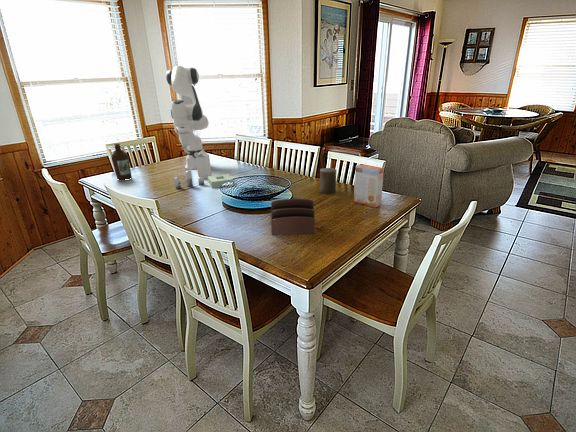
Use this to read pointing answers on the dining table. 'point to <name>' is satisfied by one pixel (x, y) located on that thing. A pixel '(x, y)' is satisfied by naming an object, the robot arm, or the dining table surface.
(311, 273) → the dining table surface
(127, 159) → the olive oil
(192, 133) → the robot arm
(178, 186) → the medium pin
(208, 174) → the milk carton
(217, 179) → the socket block
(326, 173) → the pillar candle
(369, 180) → the cracker box
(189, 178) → the tall pin
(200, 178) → the short pin
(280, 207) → the letter holder
